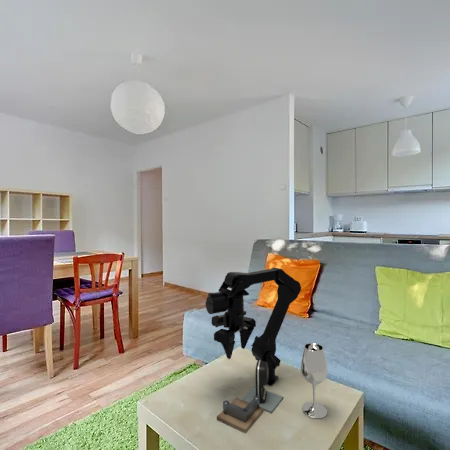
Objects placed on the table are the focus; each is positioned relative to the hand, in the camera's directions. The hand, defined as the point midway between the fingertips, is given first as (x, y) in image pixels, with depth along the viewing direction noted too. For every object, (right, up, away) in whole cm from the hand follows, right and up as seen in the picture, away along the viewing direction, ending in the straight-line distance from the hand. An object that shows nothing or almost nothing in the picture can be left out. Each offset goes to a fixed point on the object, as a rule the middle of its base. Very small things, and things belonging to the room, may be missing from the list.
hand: (236, 353), depth 102 cm
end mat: (+8, -13, -5) cm, 16 cm away
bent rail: (+1, -12, -12) cm, 17 cm away
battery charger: (+9, -13, -5) cm, 16 cm away
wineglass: (+24, -13, -11) cm, 29 cm away
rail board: (+1, -13, -13) cm, 19 cm away
